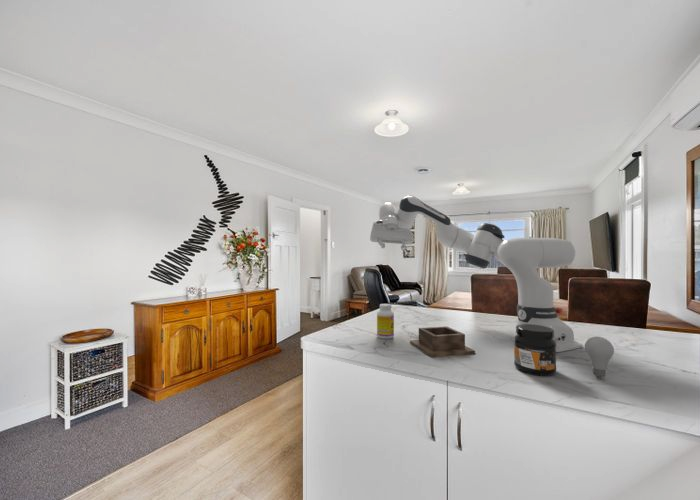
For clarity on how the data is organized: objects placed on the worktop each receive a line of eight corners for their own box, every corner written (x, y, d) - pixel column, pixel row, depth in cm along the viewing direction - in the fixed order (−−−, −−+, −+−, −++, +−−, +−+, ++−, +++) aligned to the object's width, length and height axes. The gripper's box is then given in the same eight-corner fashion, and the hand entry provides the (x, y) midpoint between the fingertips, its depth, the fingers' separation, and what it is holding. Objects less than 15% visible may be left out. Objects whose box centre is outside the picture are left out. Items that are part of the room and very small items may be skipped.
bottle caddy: (448, 340, 118) (448, 324, 118) (475, 353, 103) (475, 335, 103) (410, 343, 114) (410, 326, 115) (431, 357, 99) (431, 338, 99)
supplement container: (521, 375, 85) (521, 331, 85) (508, 362, 95) (508, 323, 95) (564, 378, 83) (564, 333, 83) (546, 364, 93) (546, 324, 93)
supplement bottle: (393, 339, 119) (393, 306, 119) (376, 338, 120) (376, 305, 120) (394, 335, 125) (394, 303, 125) (377, 334, 127) (378, 302, 127)
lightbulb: (579, 373, 86) (579, 334, 86) (599, 373, 86) (599, 333, 87) (598, 383, 80) (598, 340, 80) (620, 382, 80) (620, 339, 80)
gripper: (409, 233, 154) (413, 254, 145) (368, 231, 152) (370, 251, 143) (412, 224, 150) (417, 244, 140) (370, 221, 148) (372, 241, 138)
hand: (393, 248), depth 141 cm, fingers open, 8 cm apart
